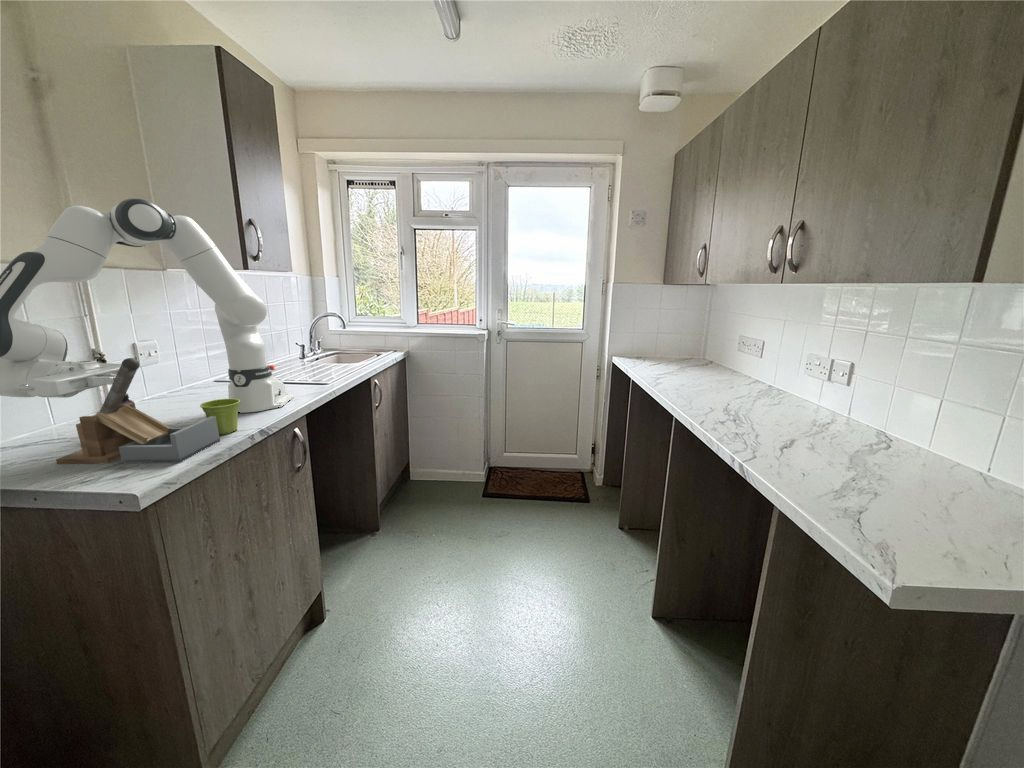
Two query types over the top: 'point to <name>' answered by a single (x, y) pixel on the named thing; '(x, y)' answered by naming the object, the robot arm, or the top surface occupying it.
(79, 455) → the lever stand
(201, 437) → the bin
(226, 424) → the plant pot
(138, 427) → the launcher
